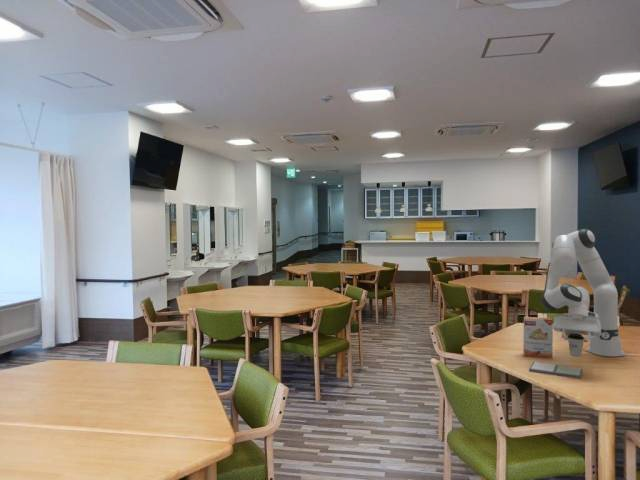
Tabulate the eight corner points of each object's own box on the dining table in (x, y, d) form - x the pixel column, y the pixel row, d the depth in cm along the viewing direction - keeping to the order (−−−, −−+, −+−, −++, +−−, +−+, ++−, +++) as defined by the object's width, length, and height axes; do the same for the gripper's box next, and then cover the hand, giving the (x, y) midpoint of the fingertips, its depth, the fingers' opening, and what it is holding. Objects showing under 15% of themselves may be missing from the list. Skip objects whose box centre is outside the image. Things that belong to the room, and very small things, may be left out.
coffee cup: (577, 353, 219) (578, 332, 218) (587, 357, 212) (587, 336, 211) (564, 353, 218) (564, 333, 218) (573, 357, 211) (573, 336, 211)
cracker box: (524, 356, 246) (524, 318, 246) (523, 353, 252) (523, 316, 251) (553, 358, 241) (552, 319, 241) (551, 355, 247) (551, 317, 247)
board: (533, 363, 232) (533, 361, 232) (582, 370, 220) (582, 368, 220) (529, 371, 221) (529, 368, 220) (581, 378, 209) (581, 376, 209)
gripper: (553, 310, 226) (550, 333, 218) (601, 314, 214) (600, 339, 207) (554, 317, 230) (551, 340, 222) (602, 322, 218) (600, 347, 210)
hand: (575, 340), depth 214 cm, fingers closed on coffee cup, 7 cm apart
